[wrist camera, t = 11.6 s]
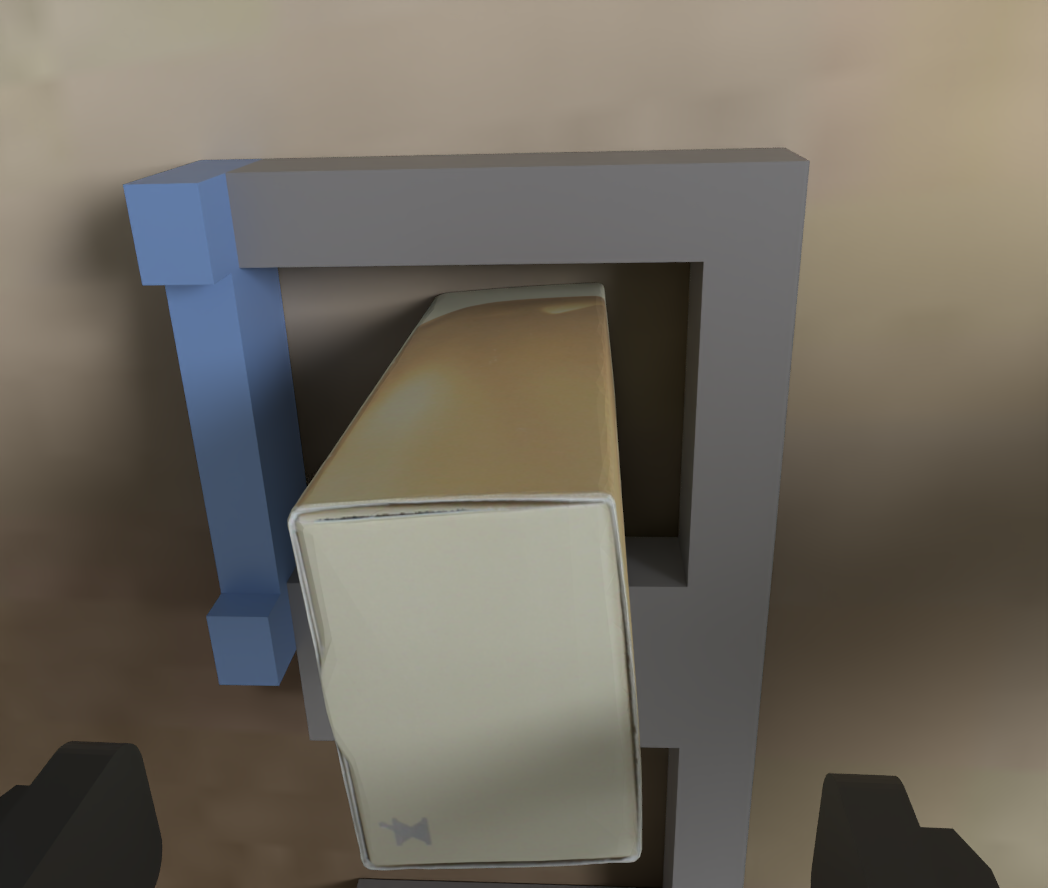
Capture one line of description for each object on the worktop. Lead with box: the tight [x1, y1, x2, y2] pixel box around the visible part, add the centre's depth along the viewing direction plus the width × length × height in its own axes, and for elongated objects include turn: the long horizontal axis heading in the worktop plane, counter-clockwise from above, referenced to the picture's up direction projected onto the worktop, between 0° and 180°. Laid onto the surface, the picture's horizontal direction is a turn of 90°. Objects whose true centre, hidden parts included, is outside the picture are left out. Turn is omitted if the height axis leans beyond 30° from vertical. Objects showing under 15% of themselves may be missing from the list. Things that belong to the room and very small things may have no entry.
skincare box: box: [287, 283, 642, 870], centre depth 18 cm, size 6×4×12 cm
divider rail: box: [123, 148, 810, 888], centre depth 25 cm, size 14×25×4 cm, turn 2°
